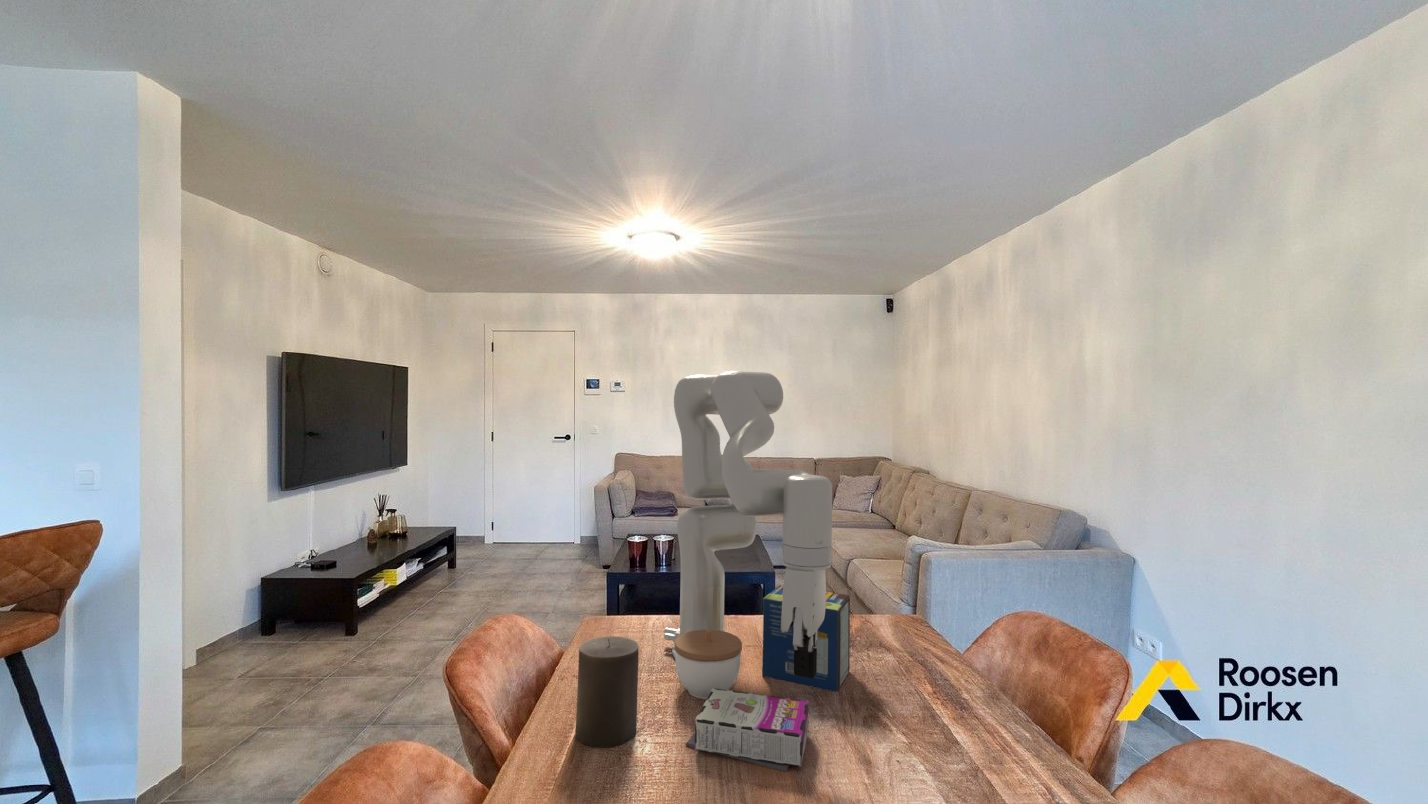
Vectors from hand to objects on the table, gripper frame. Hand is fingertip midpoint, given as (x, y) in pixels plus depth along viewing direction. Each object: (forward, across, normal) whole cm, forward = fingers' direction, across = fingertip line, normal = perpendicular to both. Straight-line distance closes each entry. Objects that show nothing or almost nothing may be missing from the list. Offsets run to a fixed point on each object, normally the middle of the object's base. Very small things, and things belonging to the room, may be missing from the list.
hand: (805, 674), depth 92 cm
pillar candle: (+12, +8, -30) cm, 34 cm away
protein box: (+12, -27, -6) cm, 30 cm away
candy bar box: (+9, 0, +1) cm, 9 cm away
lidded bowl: (+12, -12, -22) cm, 27 cm away
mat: (+12, 0, -9) cm, 15 cm away
